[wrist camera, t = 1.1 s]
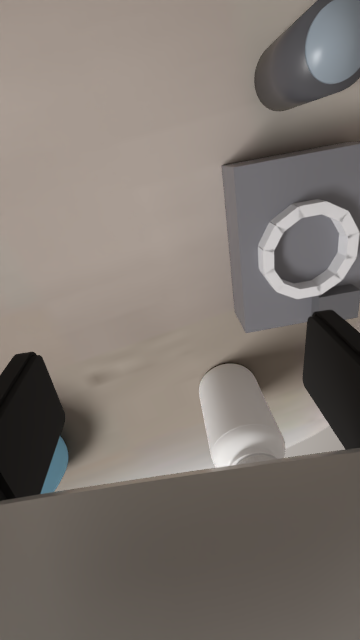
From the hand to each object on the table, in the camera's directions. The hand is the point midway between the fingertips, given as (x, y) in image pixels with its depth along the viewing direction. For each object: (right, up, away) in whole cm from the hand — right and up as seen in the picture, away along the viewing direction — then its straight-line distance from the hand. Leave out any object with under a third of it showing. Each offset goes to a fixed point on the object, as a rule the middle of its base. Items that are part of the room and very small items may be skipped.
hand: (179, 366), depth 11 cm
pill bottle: (+6, -7, +32) cm, 33 cm away
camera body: (+11, +11, +23) cm, 27 cm away
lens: (+9, +23, +16) cm, 29 cm away
